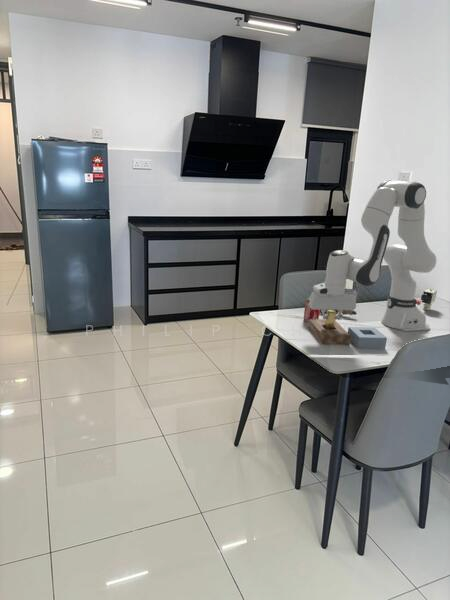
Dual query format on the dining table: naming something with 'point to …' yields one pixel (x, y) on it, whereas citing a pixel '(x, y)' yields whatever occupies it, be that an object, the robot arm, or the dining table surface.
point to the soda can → (310, 312)
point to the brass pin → (330, 319)
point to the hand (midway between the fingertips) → (330, 318)
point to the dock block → (367, 338)
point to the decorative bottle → (345, 312)
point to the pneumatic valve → (428, 298)
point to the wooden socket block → (329, 333)
